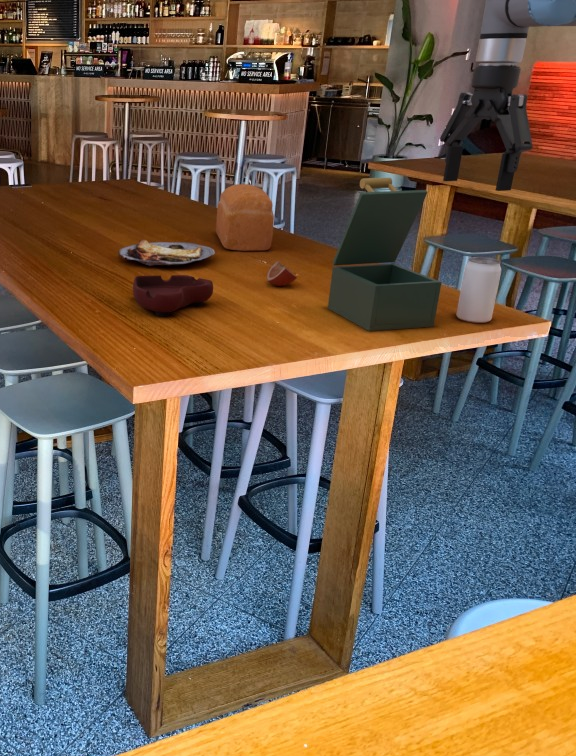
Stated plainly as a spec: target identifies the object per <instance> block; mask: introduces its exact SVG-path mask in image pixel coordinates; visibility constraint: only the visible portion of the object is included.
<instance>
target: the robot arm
mask: <svg viewBox="0 0 576 756" xmlns="http://www.w3.org/2000/svg"><path fill="white" fill-rule="evenodd" d="M484 2H485V3H484V10H483V16H482V21H481V28H480V37H479V39H478V44H477V50H476V56H475V59H474V62H475V63H476V64H478V66H475V67H474V68H473V73H472V78H471V83H470V84H471V88H473V89H474V91H473V92H460V94H459V96H458V99H457V104H456V106H455V108H454V110H453V112H452V114H451V116H450V118H449V119H448V122H447V124H446V125H445V128H444V129H443V131H442V133H441V135H440V137H439V142H441V143H444V144H445V145H446V152H445V158H444V163H445V166H444V171H443V172H444V174H443V178H442V182H457V181H458V179H459V173H460V168H461V162H462V157H463V150H464V146H463V142H464V140H465V139H466V138H467V137H468V135H470V133H471V132H472V130H473V129H475V127H476V126H477V125H478V123H479V122H481V121H482V120H487V121H490V120H491V121H492V122H493V123H494V124H495V126H496V128H497V130H498V133H499V135H500V138H501V140H502V143H503V145H504V148H505V151H503V153H502V155H501V160H500V165H499V170H498V175H497V180H496V185H495V191H497V192H503V191H504V192H505V191H506V192H507V191H511V190H512V186H513V181H514V177H515V173H516V172H517V171H518V168H519V164H520V163H519V162H520V160H521V159H520V158H521V154H522V153H524V152H527V151H528V152H529V151H531V150H532V149H533V140H532V134H531V129H530V123H529V117H528V109H527V102H528V95H527V94H526V93H525V94H522V93H521V94H520V93H519V94H514V93H513V91H514V89H515V88H517V87H518V86H519V80H520V75H521V70H522V68H521V66H518V65H519V64H520V63H522V62H523V59H524V58H523V57H524V53H525V48H526V43H527V39H528V33H529V29H530V27H531V28H534V27H538V28H539V27H576V0H485V1H484Z"/></svg>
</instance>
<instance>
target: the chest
mask: <svg viewBox="0 0 576 756" xmlns="http://www.w3.org/2000/svg"><path fill="white" fill-rule="evenodd" d="M331 270H332V271H331V277H330V284H329V285H330V287H329V294H328V301H327V309H328V310H329V311H332V312H334V313H335V314H337V315H338V316H340V317H343V318H344V319H346V320H347V321H350V322H351V323H353V324H355V325H356V326H359V327H361V328H362V329H364V330H366V331H368V332H377V331H378V332H379V331H393V330H406V329H420V328H433V327H435V321H436V316H437V310H438V304H439V300H440V293H441V288H442V283H443V282H442V281H440V280H437V279H435V278H432V277H431V276H427V275H424V274H422V273H420V272H417V271H414V270H411V269H409V268H406V267H404V266H402V265H399V264H396V263H395V262H391V263H373V264H354V265H335V266H332V269H331Z"/></svg>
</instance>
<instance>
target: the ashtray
mask: <svg viewBox="0 0 576 756" xmlns="http://www.w3.org/2000/svg"><path fill="white" fill-rule="evenodd" d="M132 284H133V285H132V295H133V298H134V299H135V303H137V304H138V305H139V306H140V307H141V308H143V309H145V310H148V311H153V312H155V316H157V317H161V318H162V317H169V316H171V312H175V311H178V309H182V308H183V309H184V308H185V307H187V306H195V307H200V306H203V305H204V302H206V301H208V300H209V299H210V298H211V297H212V296H213V293H214V283H213V280H211V279H207V278H201V277H198V278H195V277H194V276H192V275H188V274H171V275H170V277H169V279H164V278H163V277H162V275H160V274H159V275H157V274H155V275H136V276H135V277H134V279H133V283H132Z"/></svg>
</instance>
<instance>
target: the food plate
mask: <svg viewBox="0 0 576 756" xmlns="http://www.w3.org/2000/svg"><path fill="white" fill-rule="evenodd" d="M117 252H118V256H120V257H121V259H122V258H123V259H125V258H126V259H127V260H129V261H130V260H132V261H136V262H138V263H141V264H143V265H144V266H145V265H146V266H148V267H151V266H152V267H154V266H168V267H169V266H183V265H188V264H192V263H195V262H197V261H202V260H204V259H208V258H209V257H211V256H213V255H215V254H216V252H215V249H213V248H211V247H209V246H206V245H201V244H197V243H194V242H183V241H180V242H179V241H178V242H176V241H172V242H171V241H170V242H167V241H159V242H158V241H156V242H155V241H154V242H148V240H146V239H140V240H139V241H138V243H137V244H131V245H127V246H124V247H122V248H120V249H118V251H117Z"/></svg>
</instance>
